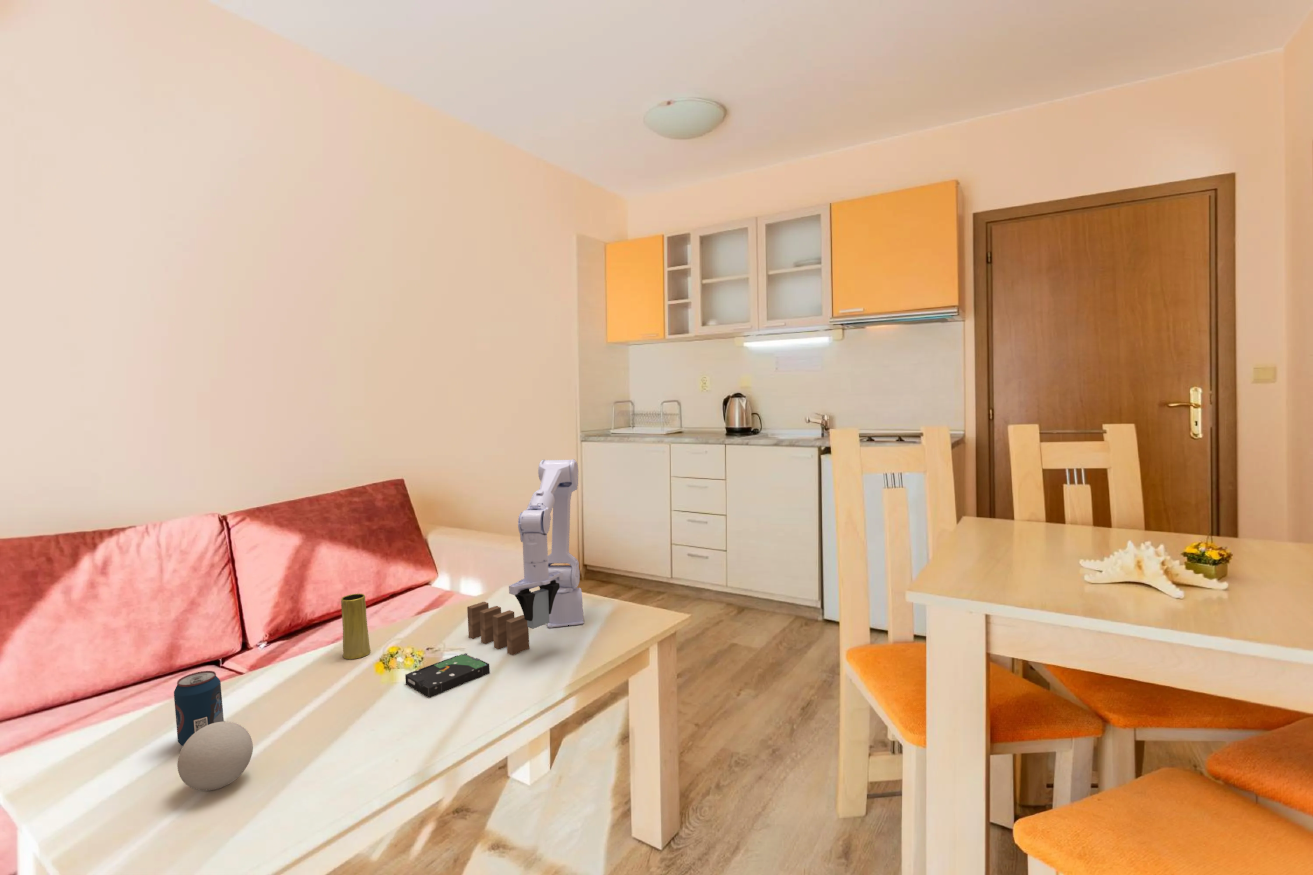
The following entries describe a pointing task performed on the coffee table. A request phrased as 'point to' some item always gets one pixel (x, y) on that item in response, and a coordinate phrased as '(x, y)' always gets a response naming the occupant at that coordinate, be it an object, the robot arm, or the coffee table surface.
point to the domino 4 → (540, 609)
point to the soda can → (197, 703)
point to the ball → (215, 756)
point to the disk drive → (446, 674)
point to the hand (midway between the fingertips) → (538, 616)
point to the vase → (354, 626)
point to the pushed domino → (475, 619)
